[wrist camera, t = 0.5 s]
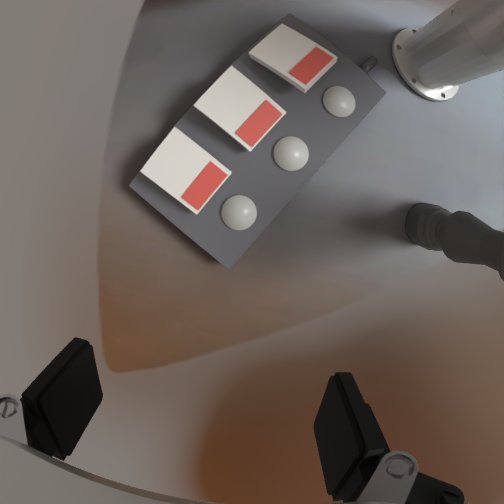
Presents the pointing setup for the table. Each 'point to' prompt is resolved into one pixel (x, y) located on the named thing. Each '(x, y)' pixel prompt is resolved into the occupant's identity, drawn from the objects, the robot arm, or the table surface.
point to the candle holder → (456, 236)
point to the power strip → (268, 150)
